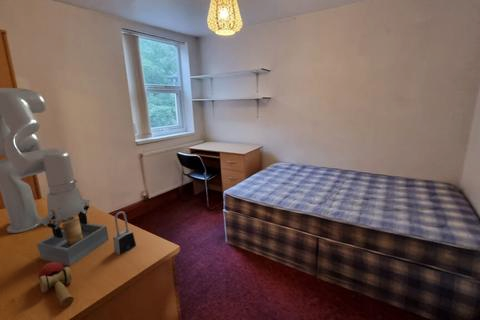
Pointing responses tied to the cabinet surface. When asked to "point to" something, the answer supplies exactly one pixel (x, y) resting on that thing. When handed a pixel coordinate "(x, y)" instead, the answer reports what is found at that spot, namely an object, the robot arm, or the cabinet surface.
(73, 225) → the peg
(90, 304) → the cabinet surface
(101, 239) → the peg box
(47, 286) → the kendama
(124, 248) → the padlock
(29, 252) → the cabinet surface
